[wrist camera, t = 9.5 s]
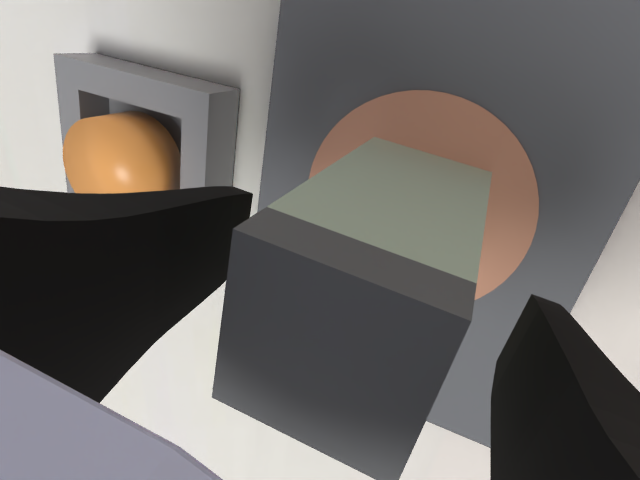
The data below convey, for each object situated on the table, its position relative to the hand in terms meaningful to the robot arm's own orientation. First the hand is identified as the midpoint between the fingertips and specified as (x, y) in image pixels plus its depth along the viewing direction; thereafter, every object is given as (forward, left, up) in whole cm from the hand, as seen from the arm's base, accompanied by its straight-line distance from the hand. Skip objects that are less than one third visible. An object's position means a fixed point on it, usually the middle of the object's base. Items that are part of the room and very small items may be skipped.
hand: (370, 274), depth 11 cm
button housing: (-11, -1, -6) cm, 12 cm away
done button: (-11, -1, -4) cm, 12 cm away
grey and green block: (0, 0, -5) cm, 5 cm away
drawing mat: (0, 0, -6) cm, 6 cm away
